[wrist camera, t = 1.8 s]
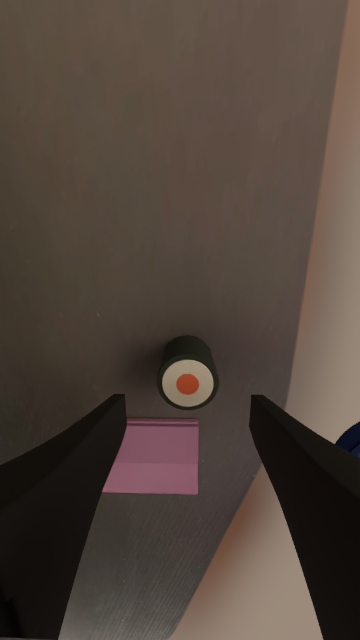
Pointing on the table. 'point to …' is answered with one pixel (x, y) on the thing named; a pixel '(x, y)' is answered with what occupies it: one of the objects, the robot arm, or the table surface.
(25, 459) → the robot arm
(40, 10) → the table surface
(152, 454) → the napkin
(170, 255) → the table surface
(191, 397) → the sushi roll
